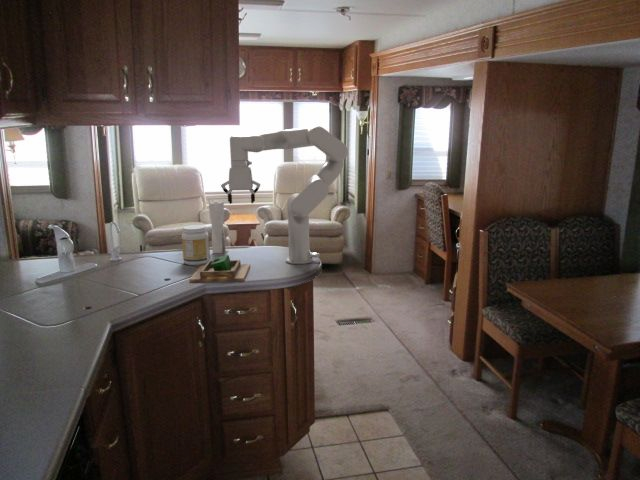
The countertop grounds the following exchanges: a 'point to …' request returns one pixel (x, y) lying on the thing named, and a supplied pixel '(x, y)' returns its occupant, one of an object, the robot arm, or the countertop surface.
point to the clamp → (222, 263)
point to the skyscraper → (217, 226)
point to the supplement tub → (195, 245)
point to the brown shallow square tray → (221, 273)
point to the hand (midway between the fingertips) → (241, 203)
